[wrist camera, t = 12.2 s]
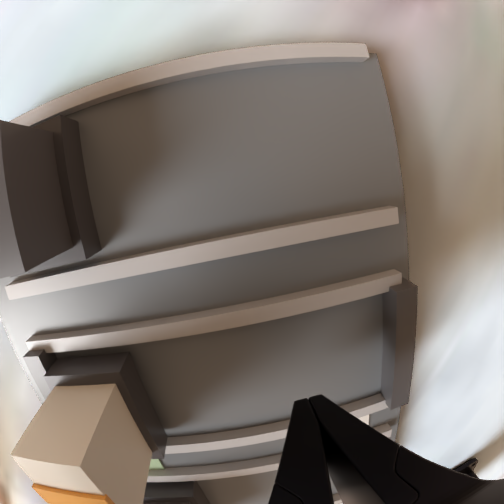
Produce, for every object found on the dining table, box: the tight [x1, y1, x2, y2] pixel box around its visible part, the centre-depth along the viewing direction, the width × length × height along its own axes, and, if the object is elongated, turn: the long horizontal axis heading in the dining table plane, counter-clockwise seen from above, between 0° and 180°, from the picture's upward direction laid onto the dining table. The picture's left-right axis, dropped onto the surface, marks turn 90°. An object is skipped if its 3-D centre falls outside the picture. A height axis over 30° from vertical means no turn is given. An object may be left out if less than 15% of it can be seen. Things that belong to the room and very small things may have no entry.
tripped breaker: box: [11, 352, 168, 504], centre depth 7 cm, size 3×4×5 cm
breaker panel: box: [0, 42, 417, 504], centre depth 9 cm, size 15×20×5 cm
